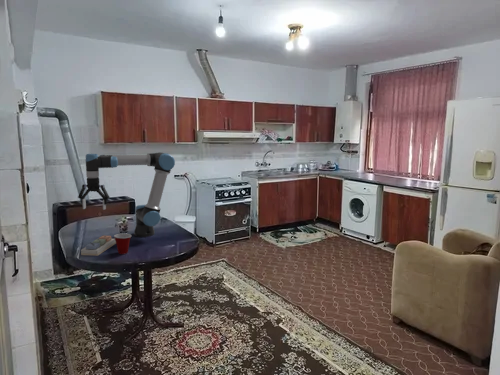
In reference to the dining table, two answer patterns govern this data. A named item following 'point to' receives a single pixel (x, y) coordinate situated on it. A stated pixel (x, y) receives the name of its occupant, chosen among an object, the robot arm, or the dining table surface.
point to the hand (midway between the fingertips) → (94, 209)
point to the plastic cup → (122, 242)
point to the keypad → (98, 250)
